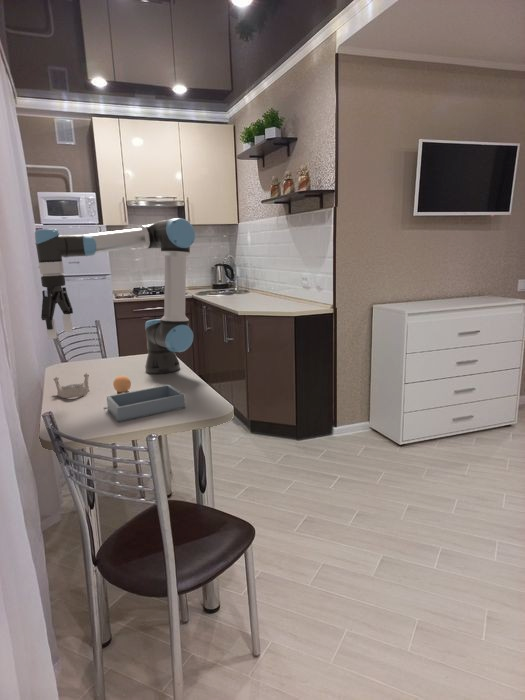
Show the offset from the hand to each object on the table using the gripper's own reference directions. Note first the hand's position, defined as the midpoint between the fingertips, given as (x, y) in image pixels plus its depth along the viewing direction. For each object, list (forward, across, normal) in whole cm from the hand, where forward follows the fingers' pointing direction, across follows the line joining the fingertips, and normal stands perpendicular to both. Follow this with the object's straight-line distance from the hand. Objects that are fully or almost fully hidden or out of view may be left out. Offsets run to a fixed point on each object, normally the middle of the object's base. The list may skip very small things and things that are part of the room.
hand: (61, 335), depth 163 cm
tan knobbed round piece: (+24, +4, +21) cm, 32 cm away
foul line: (+24, +7, +27) cm, 37 cm away
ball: (+21, +4, +21) cm, 30 cm away
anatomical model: (+24, -6, -1) cm, 25 cm away
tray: (+24, +15, +32) cm, 42 cm away
